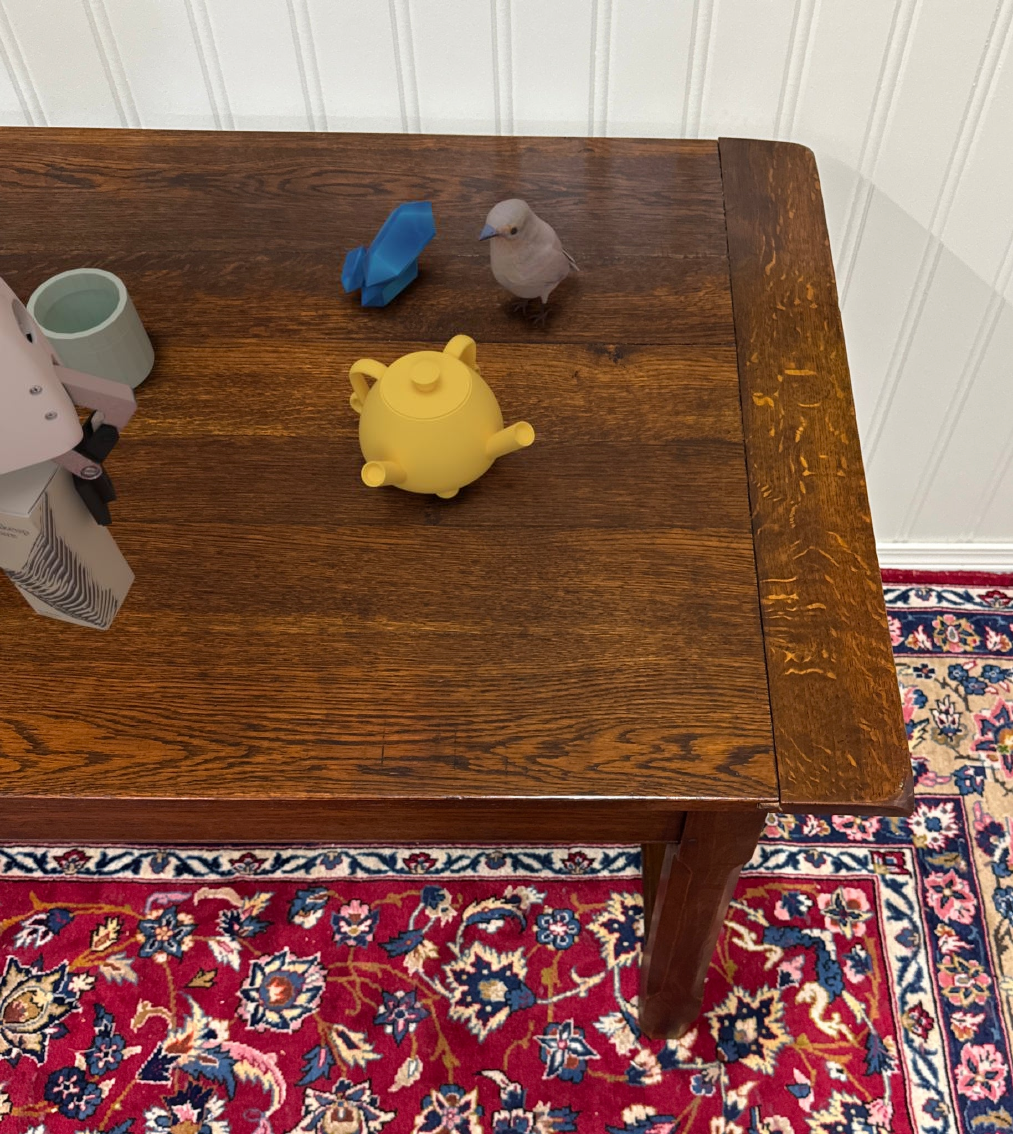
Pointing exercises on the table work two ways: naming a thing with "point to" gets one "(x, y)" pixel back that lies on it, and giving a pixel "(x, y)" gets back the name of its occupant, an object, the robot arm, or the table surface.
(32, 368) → the robot arm
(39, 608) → the box
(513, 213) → the bird
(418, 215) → the crystal
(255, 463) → the table surface
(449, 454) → the teapot
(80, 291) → the jar
